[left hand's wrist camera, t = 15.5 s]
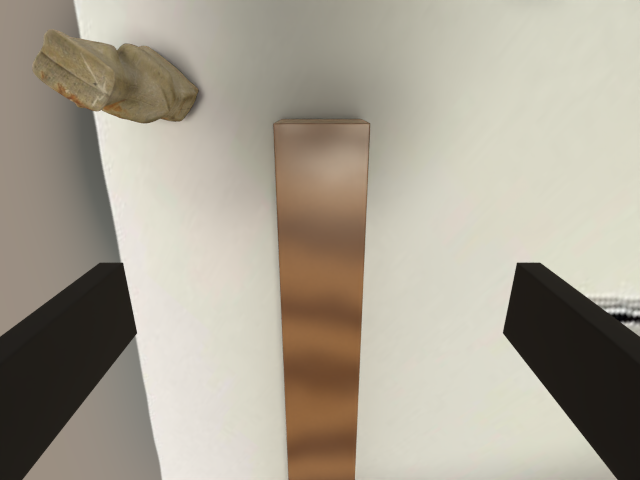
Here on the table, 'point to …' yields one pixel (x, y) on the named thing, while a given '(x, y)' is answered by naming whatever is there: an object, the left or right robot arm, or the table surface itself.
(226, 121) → the table surface
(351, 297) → the brown wooden bar
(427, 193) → the table surface
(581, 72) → the table surface
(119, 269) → the left robot arm
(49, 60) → the sculpture
